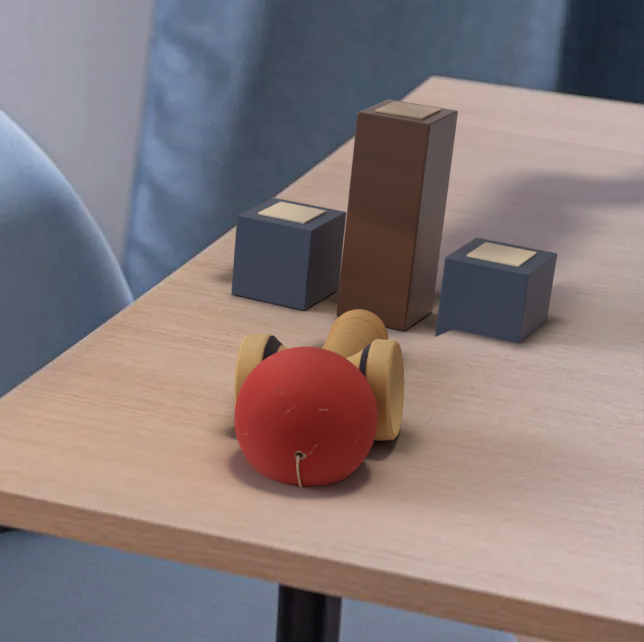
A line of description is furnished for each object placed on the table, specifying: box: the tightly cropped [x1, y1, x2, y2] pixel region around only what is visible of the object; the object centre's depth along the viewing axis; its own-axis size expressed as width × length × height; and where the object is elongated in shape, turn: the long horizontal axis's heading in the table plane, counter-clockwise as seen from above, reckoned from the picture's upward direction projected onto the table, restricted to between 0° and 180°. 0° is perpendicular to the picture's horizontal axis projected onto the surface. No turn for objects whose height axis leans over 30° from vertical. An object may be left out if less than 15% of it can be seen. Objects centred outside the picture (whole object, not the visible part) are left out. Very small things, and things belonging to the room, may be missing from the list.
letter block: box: [336, 98, 459, 332], centre depth 93 cm, size 4×4×11 cm
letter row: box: [230, 197, 558, 344], centre depth 95 cm, size 16×4×5 cm, turn 59°
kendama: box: [233, 309, 405, 488], centre depth 80 cm, size 8×6×18 cm
